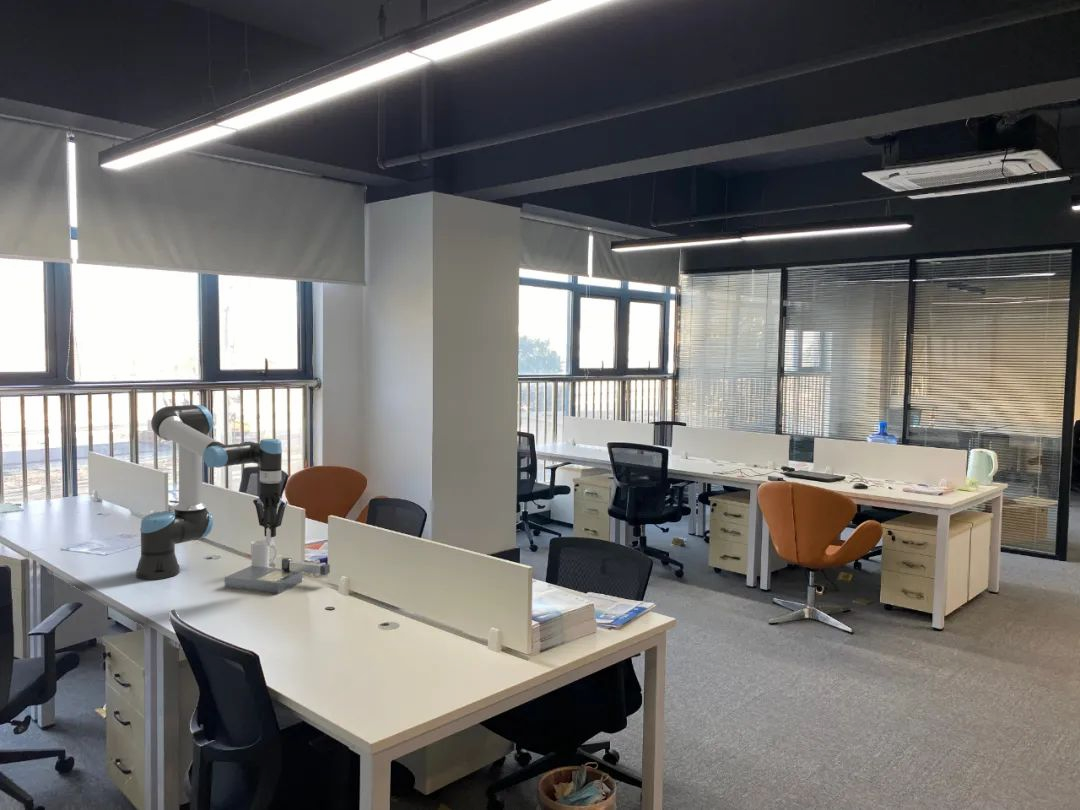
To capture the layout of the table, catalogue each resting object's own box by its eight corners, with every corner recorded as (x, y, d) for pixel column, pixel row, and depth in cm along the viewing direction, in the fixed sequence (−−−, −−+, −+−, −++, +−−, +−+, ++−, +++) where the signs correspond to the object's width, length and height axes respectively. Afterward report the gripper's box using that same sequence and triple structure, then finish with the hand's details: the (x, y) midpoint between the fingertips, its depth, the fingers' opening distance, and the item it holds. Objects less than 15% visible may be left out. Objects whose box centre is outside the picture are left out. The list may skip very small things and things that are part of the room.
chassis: (224, 587, 283) (225, 576, 283) (251, 575, 299) (251, 564, 299) (278, 594, 278) (278, 582, 278) (302, 581, 294) (302, 570, 293)
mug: (255, 575, 299) (255, 545, 299) (248, 571, 304) (248, 541, 304) (280, 571, 306) (280, 541, 305) (272, 567, 311) (273, 538, 310)
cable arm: (279, 569, 292) (279, 559, 292) (285, 567, 296) (285, 557, 296) (324, 575, 287) (324, 565, 287) (329, 572, 291) (330, 562, 290)
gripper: (248, 481, 278) (248, 546, 280) (280, 484, 275) (280, 549, 277) (260, 478, 286) (260, 541, 287) (292, 481, 283) (291, 544, 284)
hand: (270, 545), depth 282 cm, fingers closed
